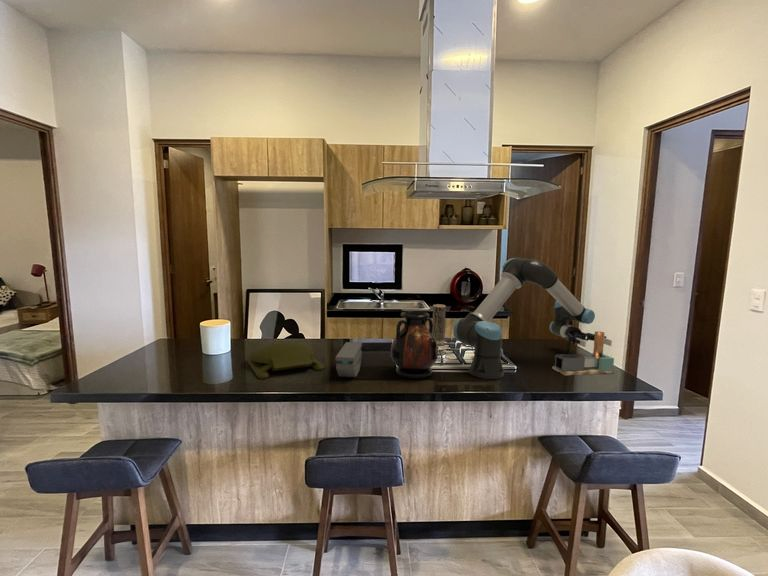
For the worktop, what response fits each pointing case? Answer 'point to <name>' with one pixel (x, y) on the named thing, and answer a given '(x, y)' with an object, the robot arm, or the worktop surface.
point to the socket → (605, 363)
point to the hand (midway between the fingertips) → (598, 343)
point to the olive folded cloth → (282, 358)
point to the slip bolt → (595, 351)
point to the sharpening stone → (349, 360)
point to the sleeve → (569, 362)
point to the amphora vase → (414, 346)
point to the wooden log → (439, 323)
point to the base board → (586, 371)
